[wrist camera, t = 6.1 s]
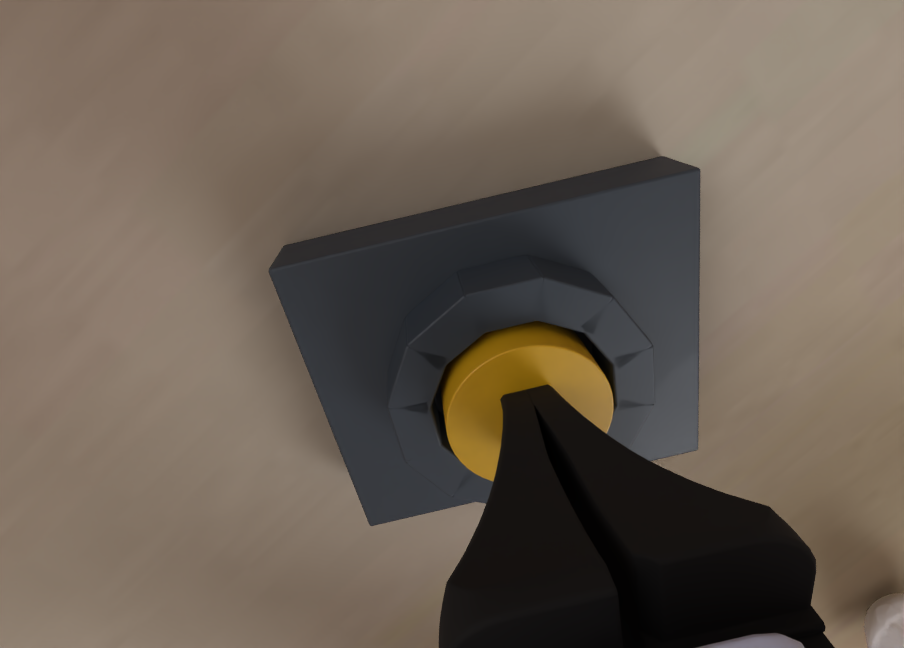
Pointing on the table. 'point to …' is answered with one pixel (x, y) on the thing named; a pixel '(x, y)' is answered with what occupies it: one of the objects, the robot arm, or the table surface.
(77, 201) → the table surface
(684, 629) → the robot arm
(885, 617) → the white pointed piece
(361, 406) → the grey button base
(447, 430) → the button
